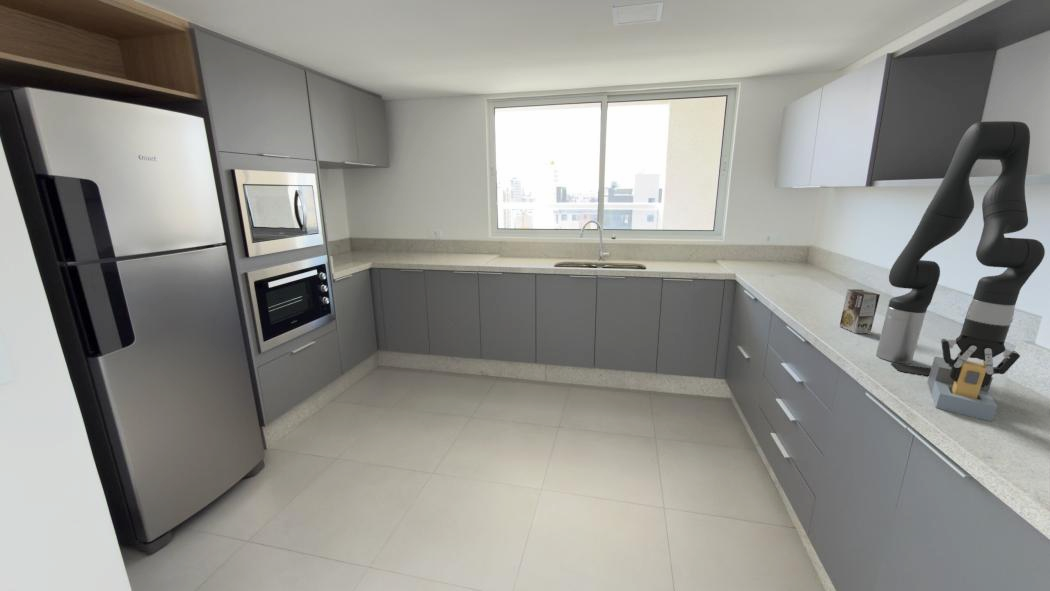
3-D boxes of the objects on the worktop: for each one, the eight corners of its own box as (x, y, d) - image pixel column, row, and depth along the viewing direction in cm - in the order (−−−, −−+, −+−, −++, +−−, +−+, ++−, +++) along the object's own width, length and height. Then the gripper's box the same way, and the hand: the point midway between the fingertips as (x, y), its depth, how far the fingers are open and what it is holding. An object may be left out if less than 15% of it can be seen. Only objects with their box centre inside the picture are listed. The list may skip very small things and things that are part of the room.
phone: (889, 362, 136) (949, 370, 130) (889, 364, 136) (949, 373, 130) (898, 370, 129) (962, 380, 123) (898, 373, 129) (961, 382, 123)
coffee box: (871, 334, 164) (881, 294, 160) (854, 333, 164) (864, 294, 160) (853, 326, 173) (862, 289, 169) (838, 326, 173) (846, 288, 169)
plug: (950, 394, 110) (961, 359, 108) (971, 399, 108) (983, 363, 105) (952, 400, 107) (964, 364, 104) (975, 406, 104) (987, 369, 102)
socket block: (927, 381, 123) (934, 356, 121) (975, 392, 117) (984, 366, 115) (935, 407, 107) (944, 379, 105) (992, 421, 101) (1002, 391, 99)
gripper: (1027, 322, 101) (1004, 386, 105) (945, 310, 109) (927, 370, 114) (1036, 329, 95) (1012, 397, 99) (949, 316, 104) (930, 379, 108)
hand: (967, 382), depth 107 cm, fingers open, 4 cm apart
